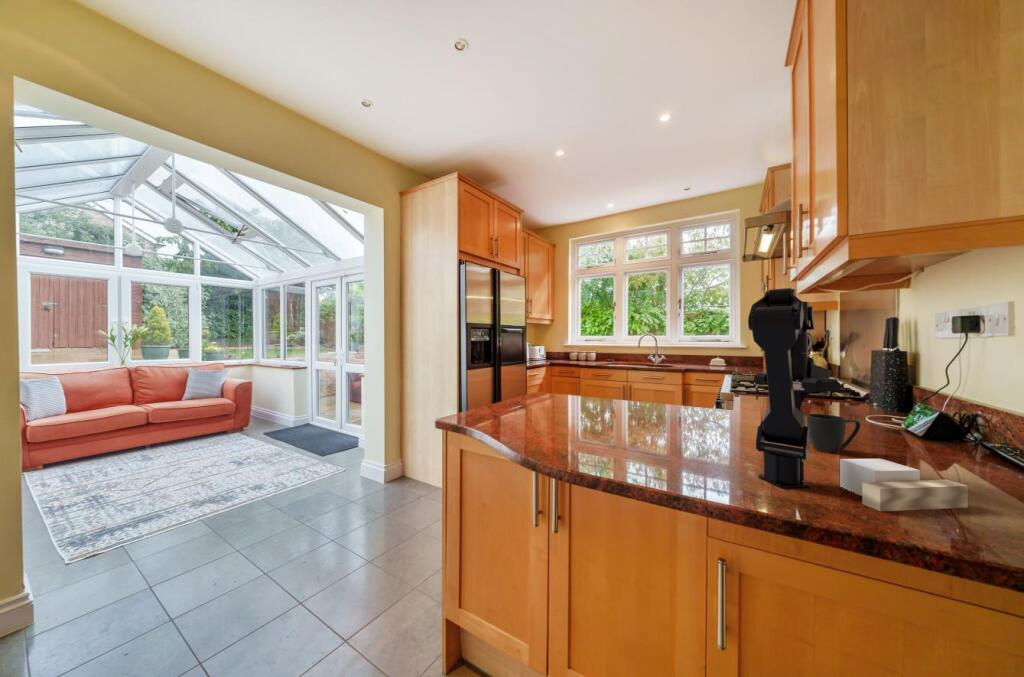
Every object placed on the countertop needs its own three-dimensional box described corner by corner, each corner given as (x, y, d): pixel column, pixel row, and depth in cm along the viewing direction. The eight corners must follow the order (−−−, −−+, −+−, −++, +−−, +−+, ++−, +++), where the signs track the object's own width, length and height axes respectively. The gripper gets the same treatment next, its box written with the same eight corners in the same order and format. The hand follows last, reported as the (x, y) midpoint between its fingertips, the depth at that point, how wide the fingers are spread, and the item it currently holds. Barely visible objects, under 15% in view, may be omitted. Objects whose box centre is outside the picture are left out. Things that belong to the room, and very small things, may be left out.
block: (875, 502, 68) (875, 470, 68) (840, 487, 75) (840, 459, 75) (920, 501, 69) (919, 470, 69) (880, 487, 76) (880, 458, 76)
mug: (870, 457, 95) (870, 421, 95) (816, 453, 98) (816, 418, 99) (850, 448, 103) (850, 415, 103) (801, 445, 106) (801, 412, 107)
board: (880, 511, 64) (880, 488, 64) (862, 503, 67) (862, 482, 67) (967, 507, 66) (967, 485, 66) (946, 500, 69) (946, 479, 69)
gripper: (862, 354, 81) (862, 424, 80) (790, 352, 99) (790, 408, 99) (817, 354, 79) (817, 425, 79) (752, 352, 98) (752, 409, 98)
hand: (793, 416), depth 89 cm, fingers closed
